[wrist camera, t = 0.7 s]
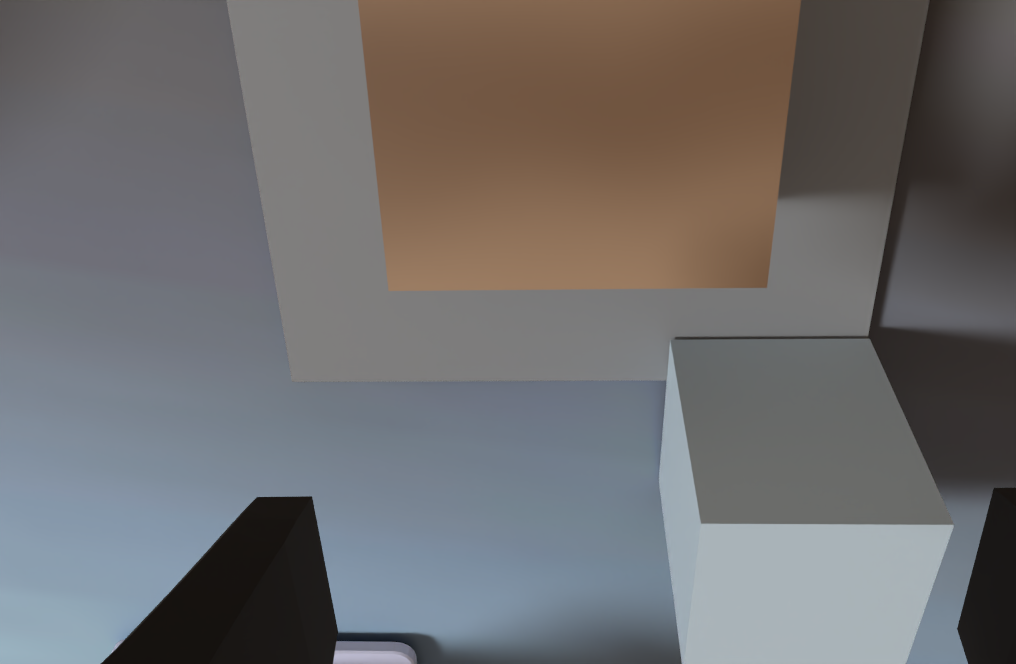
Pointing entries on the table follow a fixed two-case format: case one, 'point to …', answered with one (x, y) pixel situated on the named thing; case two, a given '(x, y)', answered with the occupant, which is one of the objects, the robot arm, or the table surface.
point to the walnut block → (578, 140)
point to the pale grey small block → (794, 504)
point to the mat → (569, 312)
